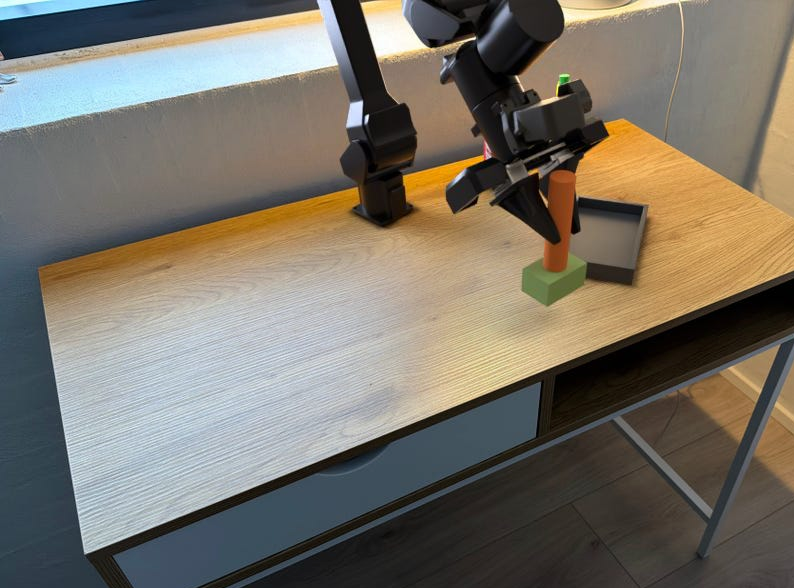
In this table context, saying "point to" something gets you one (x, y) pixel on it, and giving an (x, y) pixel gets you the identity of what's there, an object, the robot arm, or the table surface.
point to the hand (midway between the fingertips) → (567, 238)
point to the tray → (609, 237)
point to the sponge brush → (556, 248)
